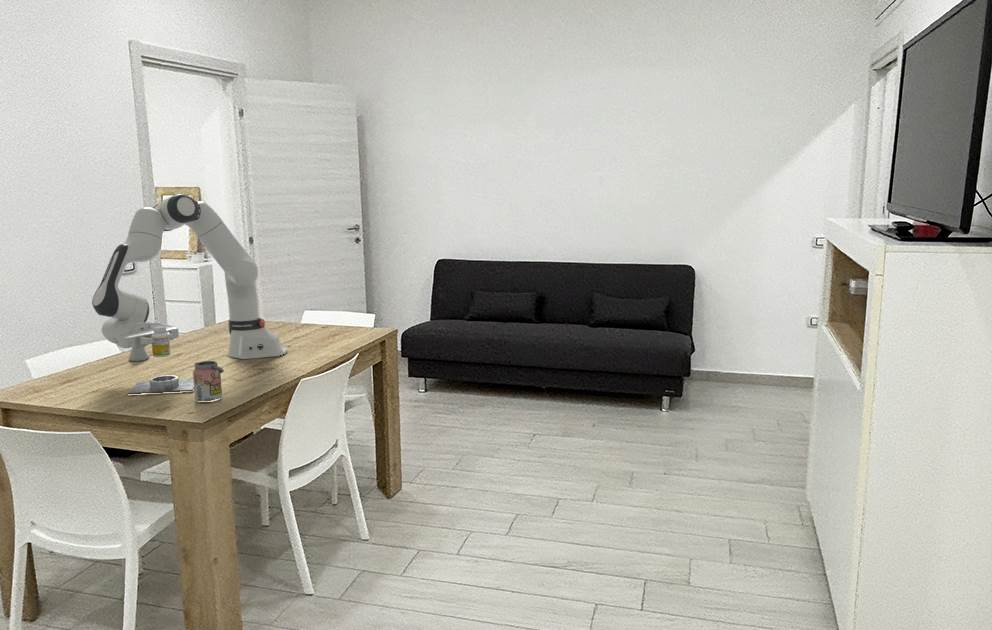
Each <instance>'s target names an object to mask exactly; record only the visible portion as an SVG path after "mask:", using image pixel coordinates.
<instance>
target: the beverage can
mask: <svg viewBox="0 0 992 630" xmlns="http://www.w3.org/2000/svg"><path fill="white" fill-rule="evenodd" d="M223 373H224V369H223V368H222V367H220V366H218V362H217V361H215V360H205V361H198V362H194V370H193V371H192V379H193V380H194V391H193V393H194V400H195V401H196V400H197V401H211V400H215V399H219V398H221V397H222V398H223V390H222V378H221V374H223ZM222 398H221V399H222ZM197 401H196V402H197Z"/></svg>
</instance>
